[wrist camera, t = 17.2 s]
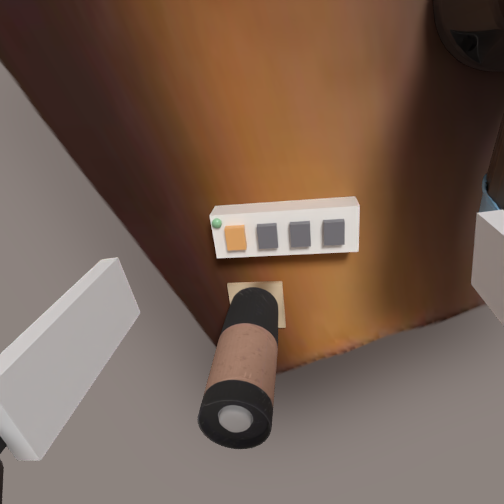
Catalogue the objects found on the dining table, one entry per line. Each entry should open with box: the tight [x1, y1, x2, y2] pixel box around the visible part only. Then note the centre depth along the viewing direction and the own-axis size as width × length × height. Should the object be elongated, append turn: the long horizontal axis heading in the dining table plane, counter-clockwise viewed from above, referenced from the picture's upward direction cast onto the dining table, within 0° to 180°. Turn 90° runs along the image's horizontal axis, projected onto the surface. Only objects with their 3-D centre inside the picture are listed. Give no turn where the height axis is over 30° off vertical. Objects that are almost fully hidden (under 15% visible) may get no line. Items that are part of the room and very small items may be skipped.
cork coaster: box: [227, 281, 286, 328], centre depth 53 cm, size 8×8×1 cm
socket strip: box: [210, 196, 360, 258], centre depth 45 cm, size 18×6×4 cm, turn 96°
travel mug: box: [198, 287, 278, 449], centre depth 44 cm, size 8×8×20 cm
